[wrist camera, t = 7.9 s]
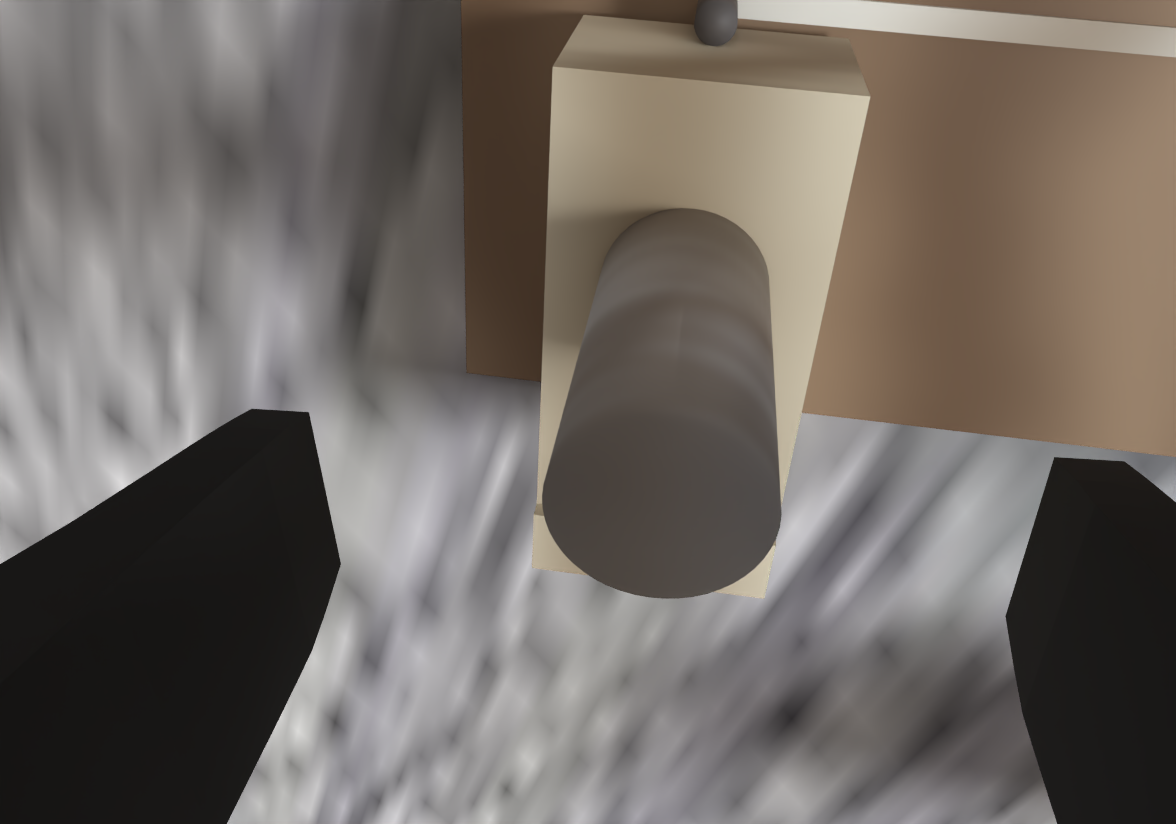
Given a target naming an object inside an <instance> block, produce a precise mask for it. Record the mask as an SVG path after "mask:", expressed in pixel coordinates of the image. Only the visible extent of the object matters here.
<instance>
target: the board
mask: <svg viewBox="0 0 1176 824" xmlns="http://www.w3.org/2000/svg"><path fill="white" fill-rule="evenodd" d="M737 1H738V24H737V29H747V30H758V31H769V32H780V33H791V34H803V35H814V36H825V37H836V38H847V39H849V41H850V43H851V46H852V49H853V51H854V54H855V57H856V59H857V62H858V65H859V67H860V70H861V73H862V75H863V78H864V81H865V83H866V86H867V89H868V91H869V94H870V101H869V105H868V110H867V115H866V119H865V124H864V128H863V133H862V138H861V142H860V147H859V151H858V156H857V161H856V165H855V170H854V174H853V179H852V184H851V188H850V193H849V197H848V202H847V206H846V211H845V216H844V220H843V225H842V229H841V234H840V239H839V243H838V248H837V252H836V257H835V262H834V266H833V271H832V275H831V280H830V285H829V289H828V294H827V298H826V303H825V308H824V312H823V317H822V321H821V326H820V330H819V335H818V340H817V344H816V349H815V353H814V358H813V363H812V367H811V372H810V376H809V381H808V386H807V390H806V395H805V399H804V404H803V409H802V413H810V414H818V415H827V416H835V417H844V418H852V419H861V420H869V421H877V422H886V423H894V424H903V425H911V426H920V427H928V428H936V429H945V430H953V431H962V432H970V433H979V434H987V435H995V436H1004V437H1012V438H1021V439H1029V440H1038V441H1046V442H1055V443H1063V444H1071V445H1080V446H1088V447H1097V448H1105V449H1114V450H1122V451H1130V452H1139V453H1147V454H1156V455H1164V456H1173V457H1176V0H737ZM697 3H698V0H461V34H462V101H463V168H464V235H465V301H466V368H467V373H472V374H481V375H489V376H498V377H506V378H515V379H523V380H532V381H540V382H541V376H542V348H543V321H544V293H545V265H546V237H547V209H548V181H549V153H550V125H551V97H552V70H553V65H554V63H555V62H556V60H557V58H558V57H559V55H560V53H561V52H562V50H563V48H564V47H565V45H566V43H567V42H568V40H569V38H570V37H571V35H572V34H573V32H574V30H575V29H576V27H577V25H578V24H579V22H580V20H581V19H582V17H583V15H592V16H603V17H614V18H625V19H636V20H647V21H658V22H669V23H680V24H692V25H694V21H695V15H696V9H697Z"/></svg>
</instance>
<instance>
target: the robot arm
mask: <svg viewBox="0 0 1176 824" xmlns="http://www.w3.org/2000/svg"><path fill="white" fill-rule="evenodd" d="M340 565H341V562H340V558H339V553H338V548H337V544H336V539H335V534H334V529H333V525H332V520H331V515H330V510H329V506H328V501H327V496H326V491H325V487H324V482H323V477H322V473H321V468H320V463H319V458H318V454H317V449H316V444H315V439H314V435H313V430H312V425H311V420H310V416H309V412H295V411H279V410H262V409H251V410H249V411H247V412H245V413H243V414H242V415H240V416H238V417H236V418H234V419H232V420H231V421H229V422H227V423H226V424H224V425H222V426H221V427H219V428H217V429H216V430H214V431H213V432H211V433H209V434H208V435H206V436H205V437H203V438H201V439H200V440H198V441H197V442H195V443H194V444H192V445H190V446H189V447H187V448H186V449H184V450H183V451H181V452H180V453H178V454H176V455H175V456H173V457H172V458H170V459H169V460H167V461H166V462H164V463H163V464H161V465H160V466H158V467H156V468H155V469H153V470H152V471H150V472H149V473H147V474H146V475H144V476H143V477H141V478H139V479H138V480H136V481H135V482H133V483H132V484H130V485H128V486H127V487H125V488H124V489H122V490H121V491H119V492H118V493H116V494H114V495H113V496H111V497H110V498H108V499H107V500H105V501H104V502H102V503H100V504H99V505H97V506H96V507H94V508H93V509H91V510H89V511H88V512H86V513H85V514H83V515H82V516H80V517H79V518H77V519H75V520H74V521H72V522H71V523H69V524H67V525H66V526H64V527H62V528H61V529H59V530H57V531H56V532H54V533H52V534H50V535H49V536H47V537H45V538H44V539H42V540H40V541H39V542H37V543H35V544H34V545H32V546H30V547H28V548H27V549H25V550H23V551H22V552H20V553H18V554H17V555H15V556H13V557H12V558H10V559H8V560H7V561H5V562H3V563H1V564H0V824H227V822H228V820H229V818H230V816H231V814H232V812H233V810H234V808H235V806H236V804H237V802H238V800H239V798H240V796H241V794H242V792H243V790H244V788H245V786H246V784H247V782H248V780H249V778H250V776H251V774H252V772H253V770H254V768H255V766H256V764H257V762H258V760H259V758H260V756H261V754H262V752H263V750H264V748H265V746H266V744H267V742H268V740H269V738H270V736H271V734H272V732H273V730H274V728H275V726H276V724H277V722H278V720H279V718H280V716H281V714H282V712H283V709H284V707H285V705H286V703H287V701H288V699H289V697H290V695H291V693H292V691H293V689H294V687H295V685H296V683H297V681H298V679H299V677H300V675H301V672H302V670H303V668H304V666H305V664H306V662H307V660H308V658H309V656H310V653H311V651H312V649H313V646H314V643H315V640H316V638H317V635H318V632H319V629H320V626H321V623H322V621H323V618H324V615H325V612H326V609H327V606H328V603H329V599H330V596H331V593H332V590H333V587H334V584H335V581H336V577H337V574H338V571H339V568H340ZM1006 622H1007V628H1008V634H1009V640H1010V646H1011V652H1012V659H1013V665H1014V671H1015V676H1016V681H1017V686H1018V692H1019V697H1020V702H1021V707H1022V712H1023V716H1024V720H1025V723H1026V726H1027V729H1028V733H1029V736H1030V739H1031V743H1032V746H1033V749H1034V752H1035V755H1036V758H1037V762H1038V765H1039V768H1040V771H1041V774H1042V777H1043V781H1044V784H1045V787H1046V790H1047V793H1048V796H1049V799H1050V803H1051V806H1052V809H1053V812H1054V815H1055V818H1056V821H1057V824H1176V502H1175V501H1173V500H1172V499H1171V498H1170V497H1169V496H1167V495H1166V494H1165V493H1164V492H1163V491H1161V490H1160V489H1159V488H1158V487H1156V486H1155V485H1154V484H1153V483H1152V482H1150V481H1149V480H1148V479H1147V478H1145V477H1144V476H1143V475H1142V474H1140V473H1139V472H1138V471H1136V470H1135V469H1134V468H1132V467H1131V466H1130V465H1128V464H1127V463H1126V462H1124V461H1108V460H1091V459H1075V458H1058V457H1054V460H1053V464H1052V467H1051V470H1050V473H1049V477H1048V480H1047V483H1046V486H1045V490H1044V493H1043V496H1042V499H1041V503H1040V506H1039V509H1038V512H1037V516H1036V519H1035V522H1034V525H1033V529H1032V532H1031V535H1030V539H1029V542H1028V545H1027V548H1026V552H1025V555H1024V558H1023V561H1022V565H1021V568H1020V571H1019V574H1018V578H1017V581H1016V584H1015V587H1014V591H1013V594H1012V597H1011V600H1010V604H1009V607H1008V610H1007V613H1006Z"/></svg>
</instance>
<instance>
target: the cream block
mask: <svg viewBox="0 0 1176 824" xmlns="http://www.w3.org/2000/svg"><path fill="white" fill-rule="evenodd" d="M737 24H738V1H737V0H698V3H697V9H696V15H695V21H694V25H692V24H680V23H669V22H658V21H647V20H636V19H625V18H614V17H603V16H592V15H583V17H582V19H581V20H580V22H579V24H578V25H577V27H576V29H575V30H574V32H573V34H572V35H571V37H570V38H569V40H568V42H567V43H566V45H565V47H564V48H563V50H562V52H561V53H560V55H559V57H558V58H557V60H556V62H555V63H554V65H553V70H552V97H551V125H550V153H549V181H548V209H547V237H546V265H545V293H544V321H543V348H542V376H541V404H540V432H539V460H538V488H537V505H536V509H535V512H534V525H533V555H532V568H537V569H545V570H552V571H560V572H567V573H575V574H582V575H589V576H591V577H592V578H594V579H596V580H598V581H600V582H602V583H603V584H605V585H607V586H610V587H613V588H615V589H618V590H620V591H624V592H627V593H631V594H634V595H640V596H645V597H653V598H685V597H694V596H698V595H703V594H708V593H711V592H718V593H725V594H733V595H740V596H748V597H755V598H763V599H764V597H765V592H766V588H767V583H768V579H769V574H770V570H771V565H772V561H773V556H774V552H775V547H776V537H777V534H778V531H779V528H780V521H781V505H782V500H783V496H784V491H785V487H786V482H787V477H788V473H789V468H790V464H791V459H792V454H793V450H794V445H795V441H796V436H797V431H798V427H799V422H800V418H801V413H802V409H803V404H804V399H805V395H806V390H807V386H808V381H809V376H810V372H811V367H812V363H813V358H814V353H815V349H816V344H817V340H818V335H819V330H820V326H821V321H822V317H823V312H824V308H825V303H826V298H827V294H828V289H829V285H830V280H831V275H832V271H833V266H834V262H835V257H836V252H837V248H838V243H839V239H840V234H841V229H842V225H843V220H844V216H845V211H846V206H847V202H848V197H849V193H850V188H851V184H852V179H853V174H854V170H855V165H856V161H857V156H858V151H859V147H860V142H861V138H862V133H863V128H864V124H865V119H866V115H867V110H868V105H869V101H870V94H869V91H868V89H867V86H866V83H865V81H864V78H863V75H862V73H861V70H860V67H859V65H858V62H857V59H856V57H855V54H854V51H853V49H852V46H851V43H850V41H849V39H847V38H836V37H825V36H814V35H803V34H791V33H780V32H769V31H758V30H747V29H737Z"/></svg>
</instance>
